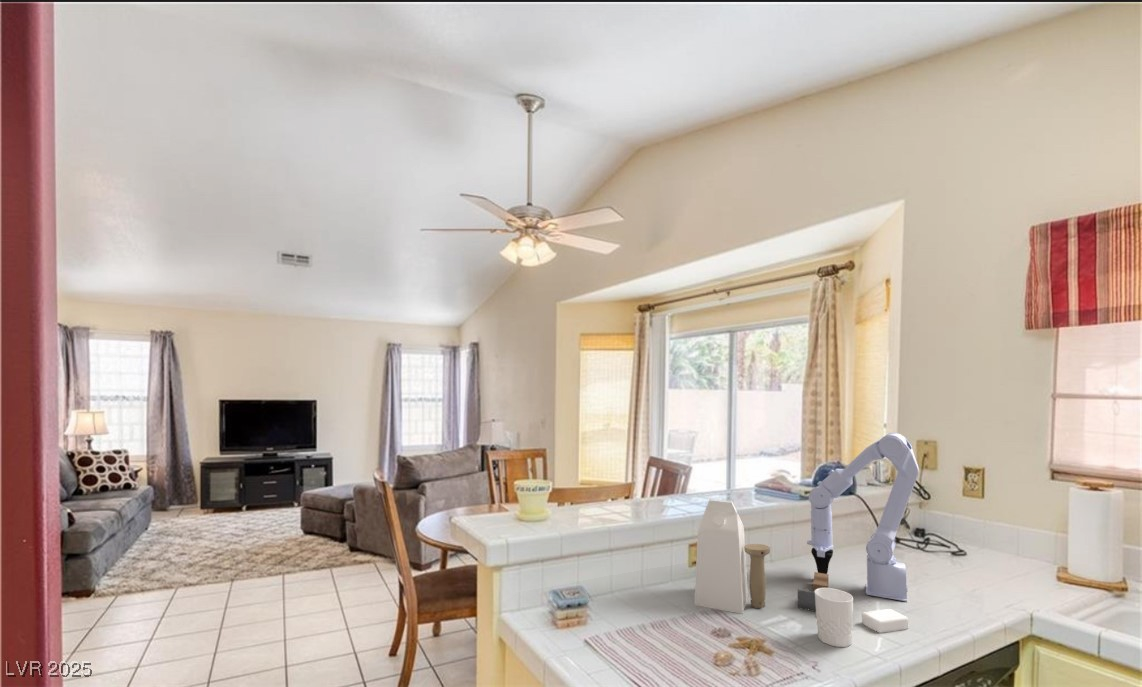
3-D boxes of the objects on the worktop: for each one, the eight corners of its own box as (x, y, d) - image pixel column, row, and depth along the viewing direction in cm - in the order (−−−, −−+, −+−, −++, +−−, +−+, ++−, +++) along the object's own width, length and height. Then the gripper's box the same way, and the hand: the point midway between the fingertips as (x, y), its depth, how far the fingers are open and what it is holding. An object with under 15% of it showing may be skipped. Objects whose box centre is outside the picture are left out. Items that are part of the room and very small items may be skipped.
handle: (774, 609, 134) (773, 549, 135) (751, 611, 133) (751, 550, 134) (763, 601, 139) (762, 543, 140) (741, 603, 137) (741, 544, 138)
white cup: (808, 632, 122) (807, 587, 123) (840, 631, 123) (839, 587, 123) (827, 649, 114) (826, 602, 115) (862, 648, 115) (861, 601, 116)
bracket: (799, 598, 141) (799, 581, 141) (840, 606, 136) (839, 588, 137) (797, 607, 135) (797, 590, 135) (839, 616, 131) (839, 597, 131)
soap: (890, 620, 129) (889, 607, 130) (910, 630, 124) (909, 617, 124) (860, 624, 127) (860, 611, 127) (879, 634, 122) (879, 621, 122)
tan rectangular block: (814, 584, 151) (814, 572, 151) (828, 587, 150) (828, 574, 150) (813, 597, 142) (813, 584, 142) (828, 600, 141) (828, 586, 141)
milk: (747, 596, 142) (746, 498, 144) (742, 613, 131) (741, 508, 133) (702, 588, 147) (702, 494, 149) (694, 604, 136) (693, 502, 138)
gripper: (808, 520, 163) (809, 565, 162) (804, 532, 151) (805, 580, 150) (833, 523, 160) (835, 569, 159) (832, 535, 147) (833, 585, 146)
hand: (822, 575), depth 154 cm, fingers closed
